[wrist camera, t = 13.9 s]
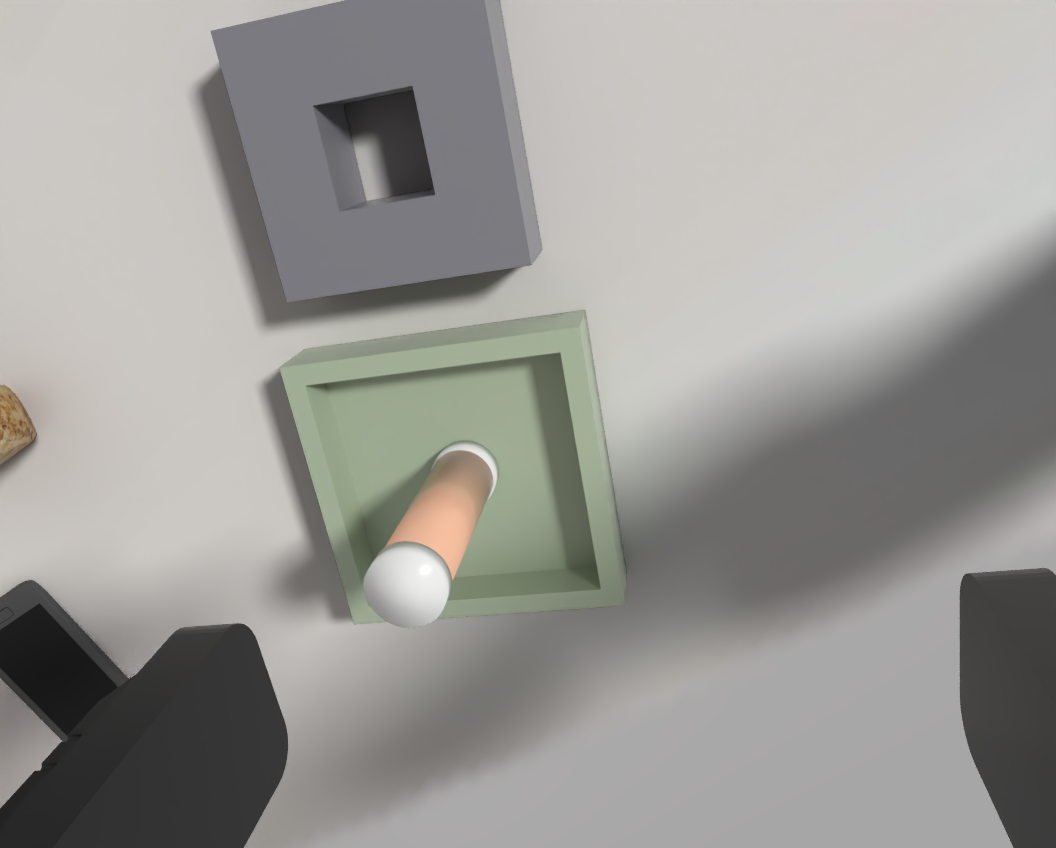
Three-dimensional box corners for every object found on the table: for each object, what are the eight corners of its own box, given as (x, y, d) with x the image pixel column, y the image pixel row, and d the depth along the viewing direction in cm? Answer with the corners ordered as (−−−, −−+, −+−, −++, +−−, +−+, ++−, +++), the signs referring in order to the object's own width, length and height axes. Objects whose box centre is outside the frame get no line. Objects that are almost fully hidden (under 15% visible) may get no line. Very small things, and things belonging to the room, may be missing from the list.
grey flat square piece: (496, -20, 34) (479, -30, 31) (542, 249, 38) (531, 265, 35) (250, 35, 37) (210, 31, 33) (316, 285, 40) (286, 302, 37)
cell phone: (35, 572, 50) (27, 579, 49) (191, 738, 53) (185, 747, 52) (-38, 623, 52) (-48, 630, 52) (115, 779, 55) (108, 788, 55)
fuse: (492, 436, 41) (436, 551, 31) (504, 495, 42) (453, 625, 32) (429, 443, 42) (354, 558, 32) (443, 501, 43) (374, 630, 33)
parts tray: (585, 309, 39) (579, 326, 36) (626, 572, 44) (624, 605, 41) (304, 349, 42) (279, 367, 39) (372, 592, 46) (354, 624, 44)
